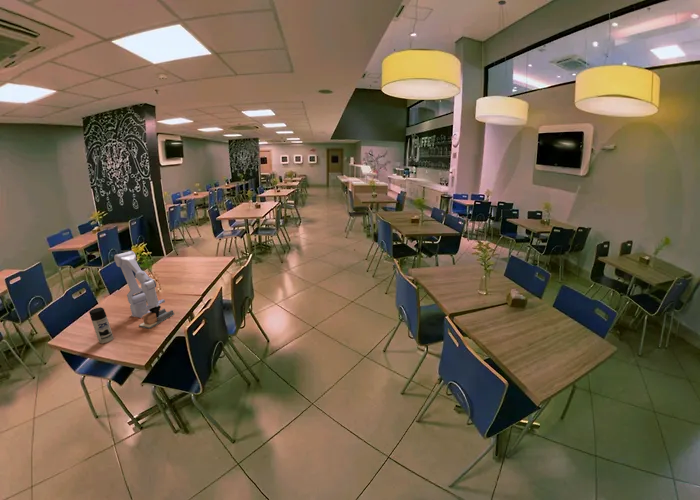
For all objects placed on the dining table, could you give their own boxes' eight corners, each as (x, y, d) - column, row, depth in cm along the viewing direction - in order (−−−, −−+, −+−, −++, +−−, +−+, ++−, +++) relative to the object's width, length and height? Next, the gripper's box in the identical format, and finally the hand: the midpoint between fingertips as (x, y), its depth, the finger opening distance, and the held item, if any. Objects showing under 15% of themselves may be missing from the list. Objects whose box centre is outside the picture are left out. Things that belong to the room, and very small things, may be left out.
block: (144, 323, 182) (142, 315, 180) (151, 319, 187) (149, 312, 185) (150, 324, 181) (148, 317, 179) (157, 320, 185) (155, 313, 183)
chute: (138, 326, 181) (137, 322, 180) (164, 312, 197) (163, 308, 196) (149, 328, 178) (148, 324, 177) (174, 314, 195) (173, 310, 194)
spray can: (101, 345, 163) (91, 314, 157) (97, 341, 167) (86, 310, 161) (115, 339, 169) (106, 308, 163) (110, 335, 172) (101, 305, 166)
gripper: (145, 304, 175) (151, 323, 179) (166, 294, 188) (171, 312, 193) (137, 302, 177) (142, 322, 181) (158, 292, 191) (162, 310, 195)
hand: (156, 317), depth 187 cm, fingers closed
